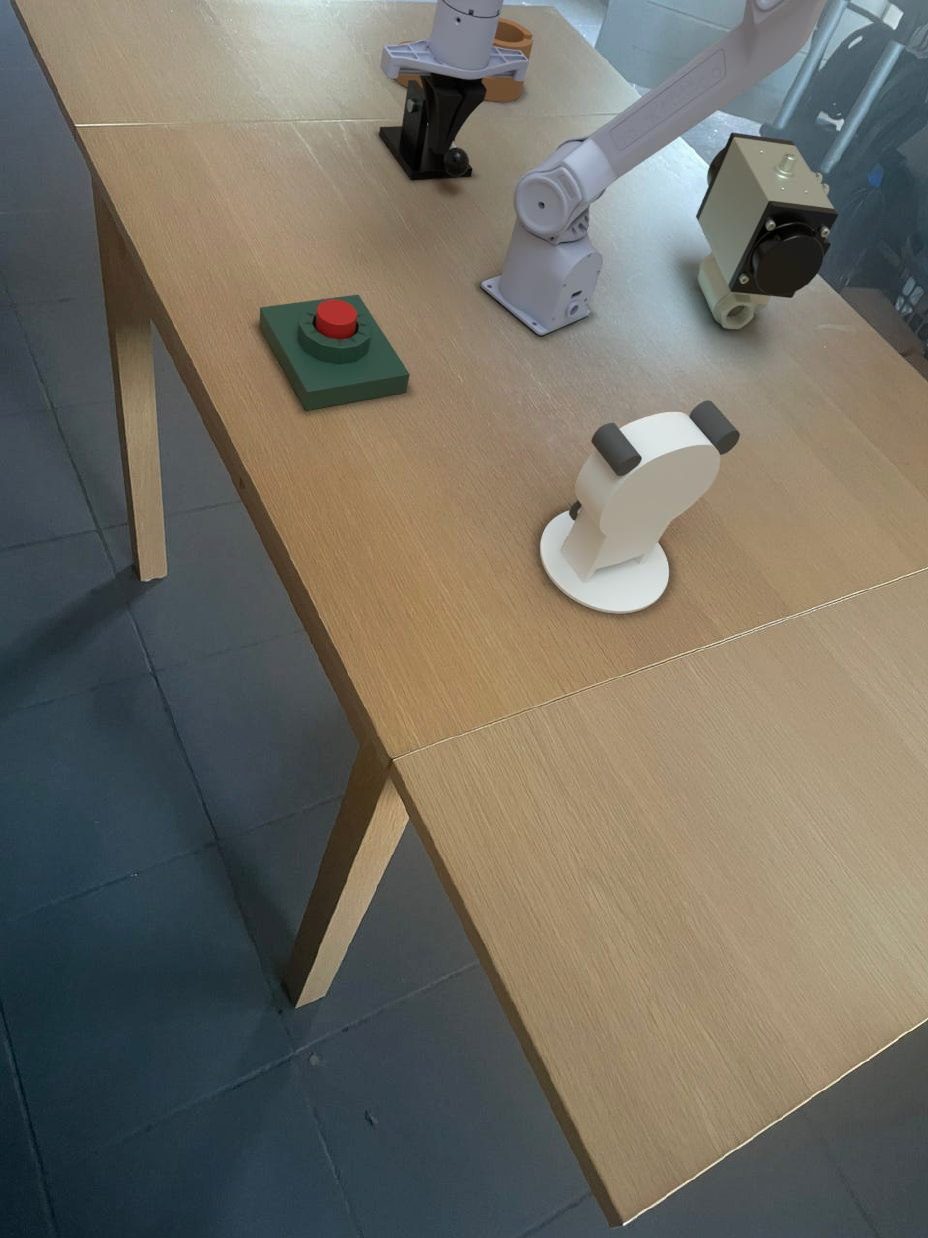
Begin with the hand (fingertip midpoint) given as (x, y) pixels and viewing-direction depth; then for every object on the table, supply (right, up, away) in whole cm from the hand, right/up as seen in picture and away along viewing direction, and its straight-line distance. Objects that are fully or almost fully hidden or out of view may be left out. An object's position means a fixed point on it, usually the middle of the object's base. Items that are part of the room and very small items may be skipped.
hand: (437, 148), depth 93 cm
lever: (0, +8, +15) cm, 17 cm away
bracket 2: (-2, +9, +19) cm, 21 cm away
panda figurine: (+15, -42, -14) cm, 47 cm away
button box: (-10, -23, -6) cm, 26 cm away
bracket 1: (+2, +25, +32) cm, 41 cm away
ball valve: (+32, -12, +13) cm, 37 cm away
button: (-9, -21, -9) cm, 24 cm away
